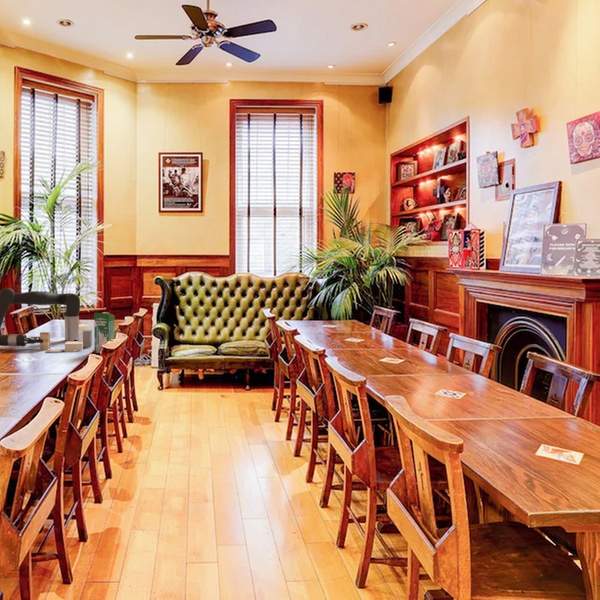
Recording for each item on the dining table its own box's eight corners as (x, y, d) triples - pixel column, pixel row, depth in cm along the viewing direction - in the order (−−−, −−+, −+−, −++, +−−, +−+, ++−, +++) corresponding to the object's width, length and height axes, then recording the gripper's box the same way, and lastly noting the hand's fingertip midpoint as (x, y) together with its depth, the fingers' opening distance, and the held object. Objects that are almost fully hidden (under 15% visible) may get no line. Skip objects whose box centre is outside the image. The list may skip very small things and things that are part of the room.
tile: (49, 350, 345) (49, 349, 345) (64, 350, 347) (64, 349, 347) (45, 352, 336) (45, 351, 336) (60, 352, 338) (60, 351, 338)
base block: (66, 349, 352) (66, 341, 352) (83, 348, 355) (83, 341, 355) (64, 351, 343) (64, 343, 343) (81, 351, 346) (81, 343, 345)
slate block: (84, 346, 363) (84, 330, 362) (92, 346, 364) (91, 329, 363) (82, 347, 358) (82, 330, 357) (90, 347, 359) (90, 330, 358)
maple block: (42, 348, 351) (42, 331, 350) (50, 348, 352) (50, 331, 351) (40, 350, 346) (39, 332, 345) (48, 350, 347) (48, 332, 346)
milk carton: (114, 351, 348) (114, 311, 346) (108, 353, 339) (108, 313, 337) (101, 350, 349) (100, 311, 347) (94, 352, 340) (94, 312, 338)
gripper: (13, 335, 338) (41, 335, 341) (20, 332, 352) (47, 332, 355) (13, 348, 339) (41, 347, 342) (21, 344, 353) (48, 344, 356)
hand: (44, 340), depth 348 cm, fingers open, 8 cm apart
